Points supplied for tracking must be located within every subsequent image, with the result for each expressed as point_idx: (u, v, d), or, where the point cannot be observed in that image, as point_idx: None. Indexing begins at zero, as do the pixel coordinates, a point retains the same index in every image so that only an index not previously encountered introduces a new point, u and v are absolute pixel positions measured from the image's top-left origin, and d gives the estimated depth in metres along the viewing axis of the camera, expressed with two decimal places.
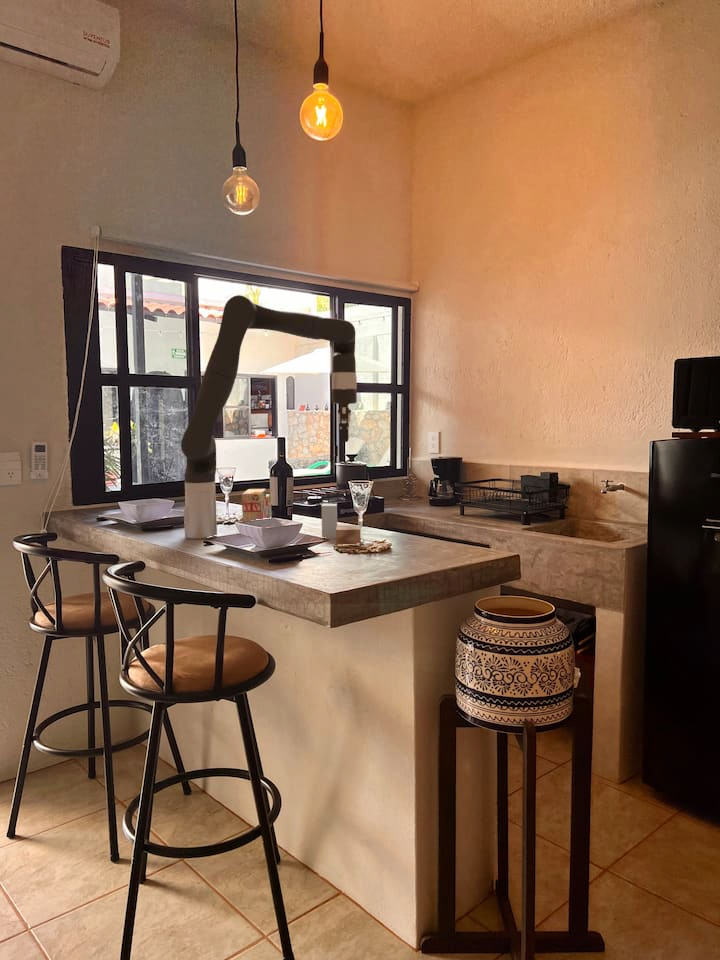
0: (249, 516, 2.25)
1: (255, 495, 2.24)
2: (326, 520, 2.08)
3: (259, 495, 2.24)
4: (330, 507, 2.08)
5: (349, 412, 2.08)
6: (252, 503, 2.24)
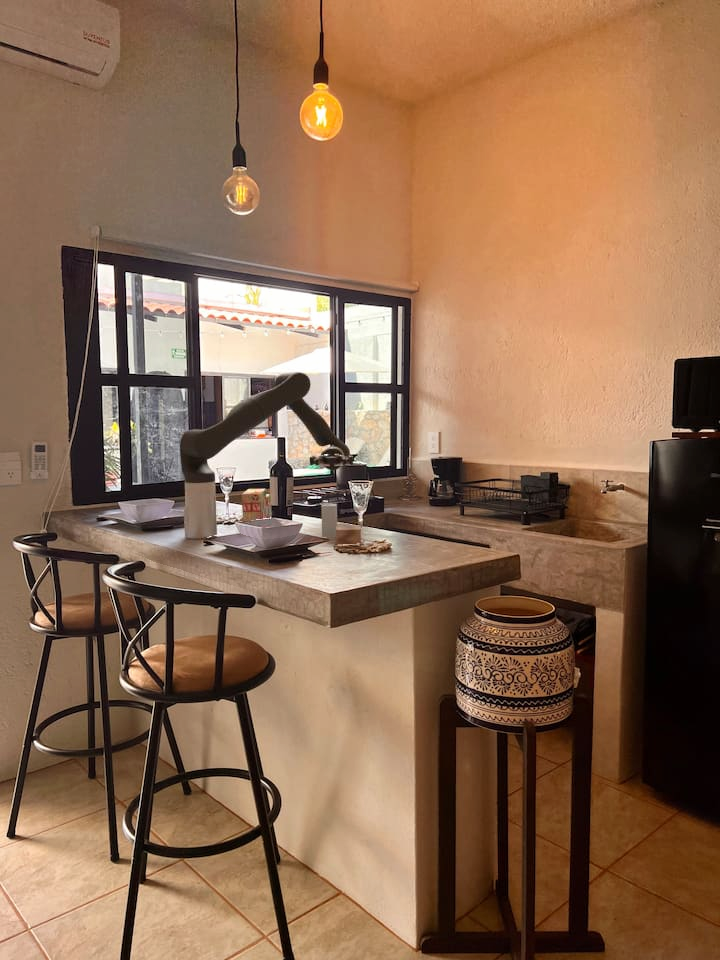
0: (249, 516, 2.25)
1: (255, 495, 2.24)
2: (326, 520, 2.08)
3: (259, 495, 2.24)
4: (330, 507, 2.08)
5: None
6: (252, 502, 2.25)
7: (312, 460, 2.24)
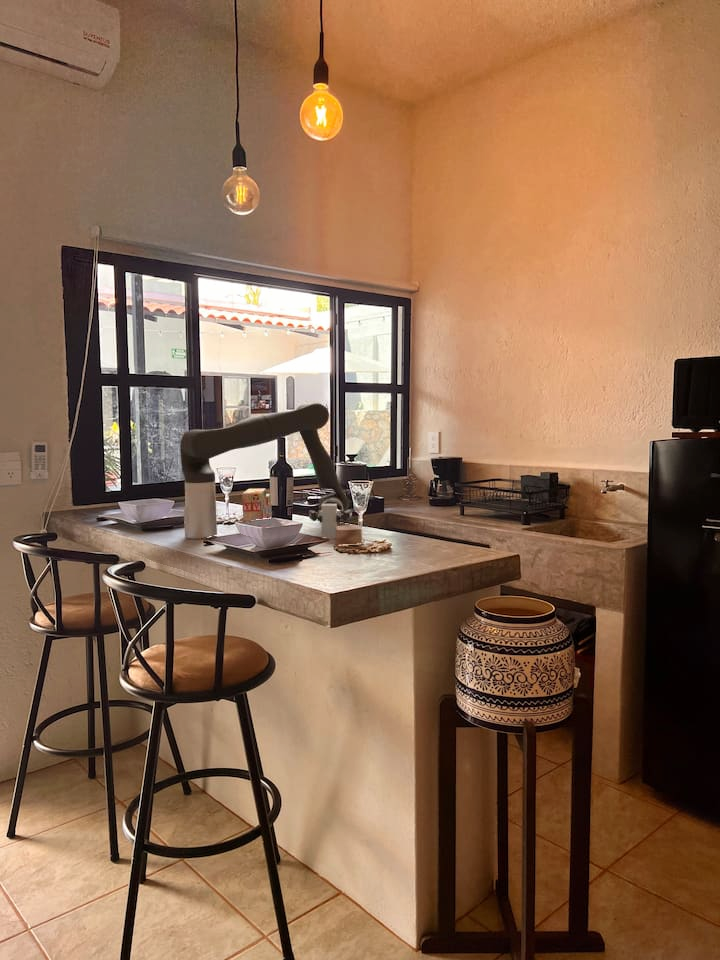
0: (249, 515, 2.26)
1: (255, 495, 2.25)
2: (326, 520, 2.08)
3: (259, 495, 2.25)
4: (330, 507, 2.08)
5: None
6: (252, 502, 2.25)
7: (315, 515, 2.12)
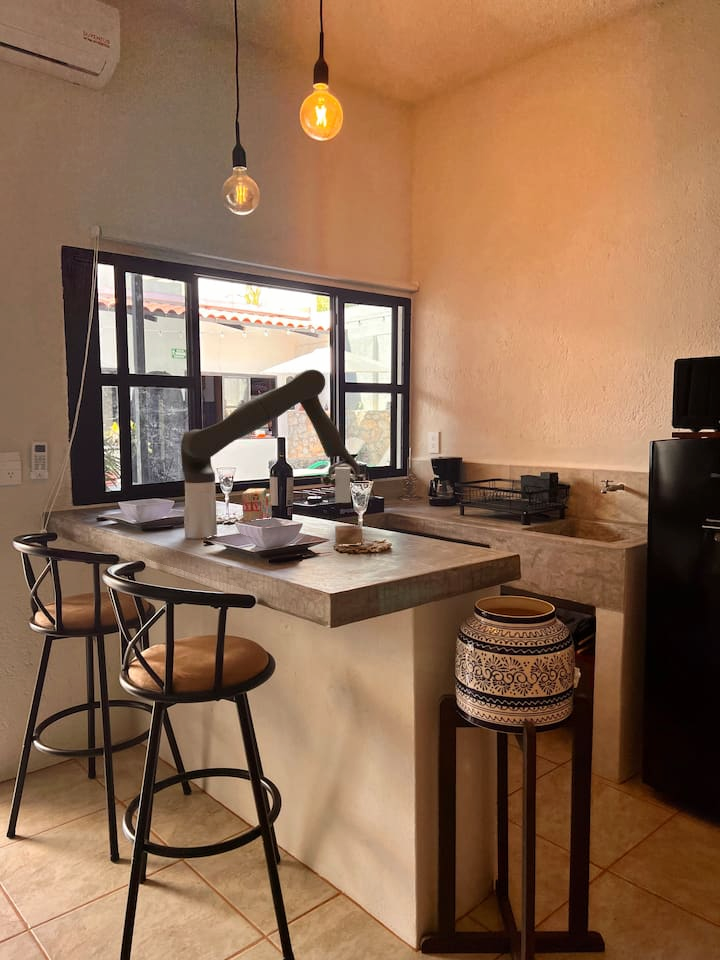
0: (249, 515, 2.26)
1: (255, 494, 2.26)
2: (339, 484, 2.00)
3: (259, 494, 2.26)
4: (344, 470, 1.99)
5: None
6: (252, 502, 2.26)
7: (328, 479, 2.03)
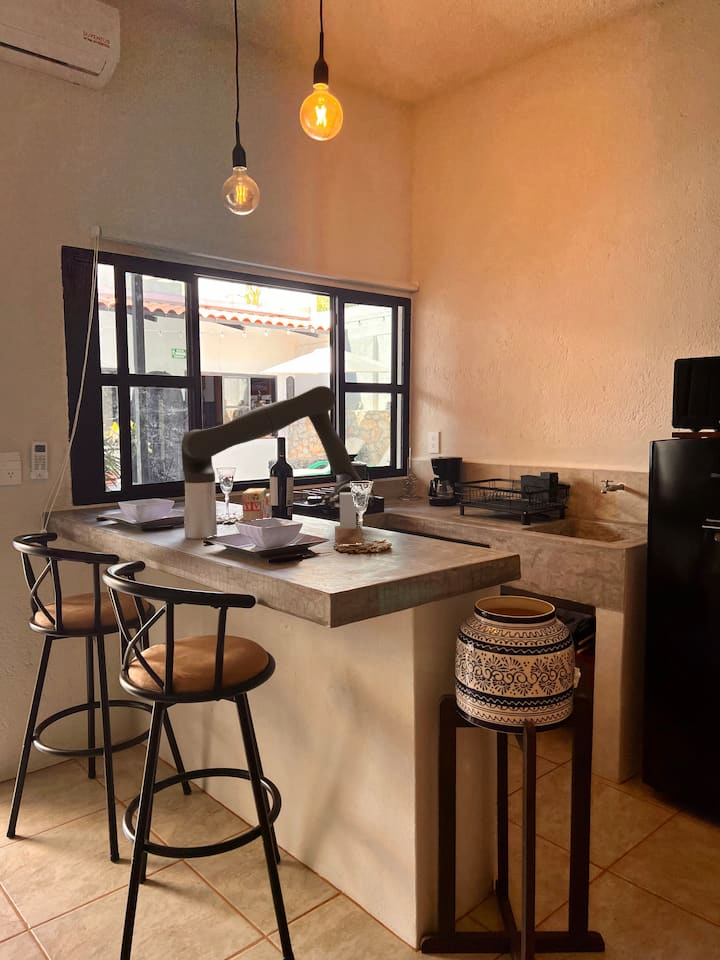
0: (249, 515, 2.27)
1: (255, 494, 2.26)
2: (344, 510, 1.97)
3: (259, 494, 2.26)
4: (349, 496, 1.96)
5: None
6: (252, 502, 2.26)
7: (327, 501, 2.01)
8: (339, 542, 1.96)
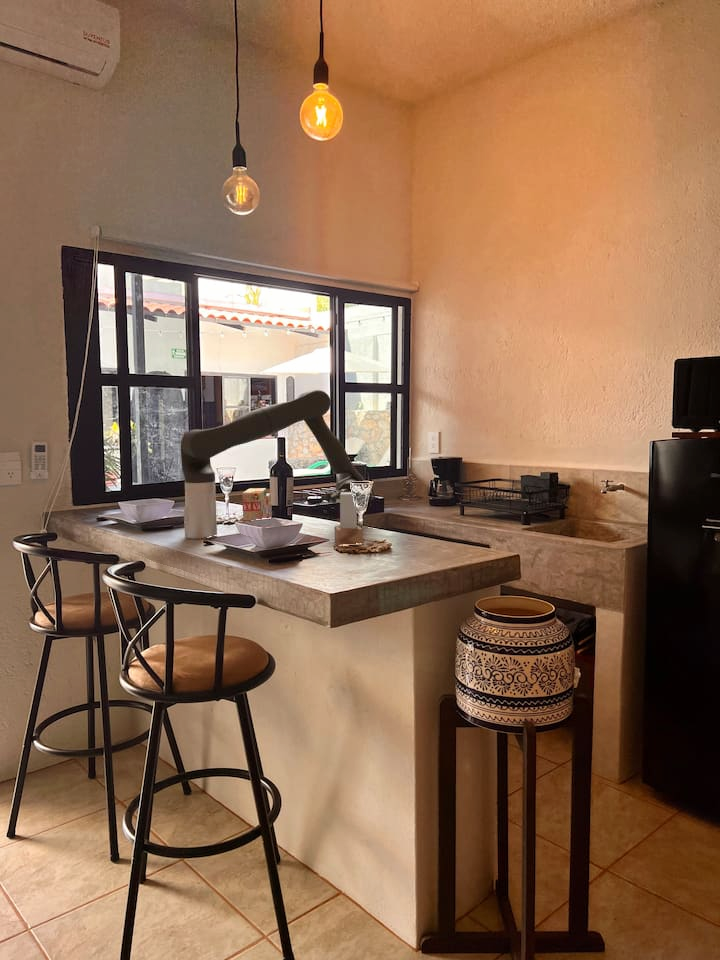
0: (249, 515, 2.27)
1: (255, 494, 2.26)
2: (344, 509, 1.97)
3: (259, 494, 2.26)
4: (349, 495, 1.96)
5: None
6: (252, 502, 2.26)
7: (329, 496, 2.11)
8: (339, 542, 1.96)
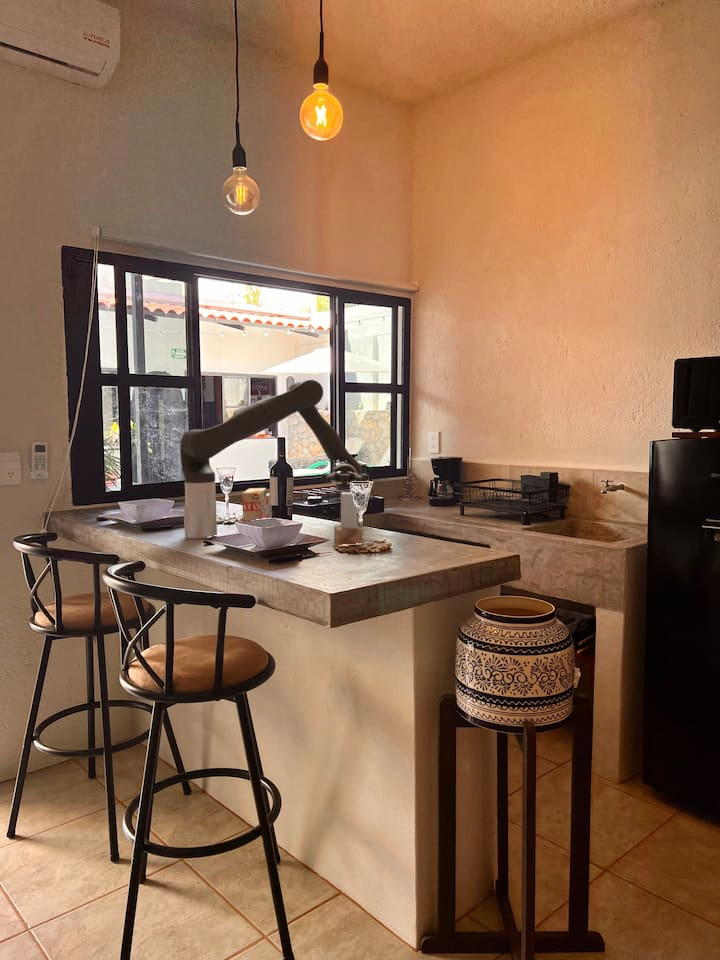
0: (249, 515, 2.27)
1: (255, 494, 2.26)
2: (345, 509, 1.97)
3: (259, 494, 2.26)
4: (350, 495, 1.97)
5: None
6: (252, 502, 2.27)
7: (324, 477, 2.15)
8: (339, 542, 1.96)
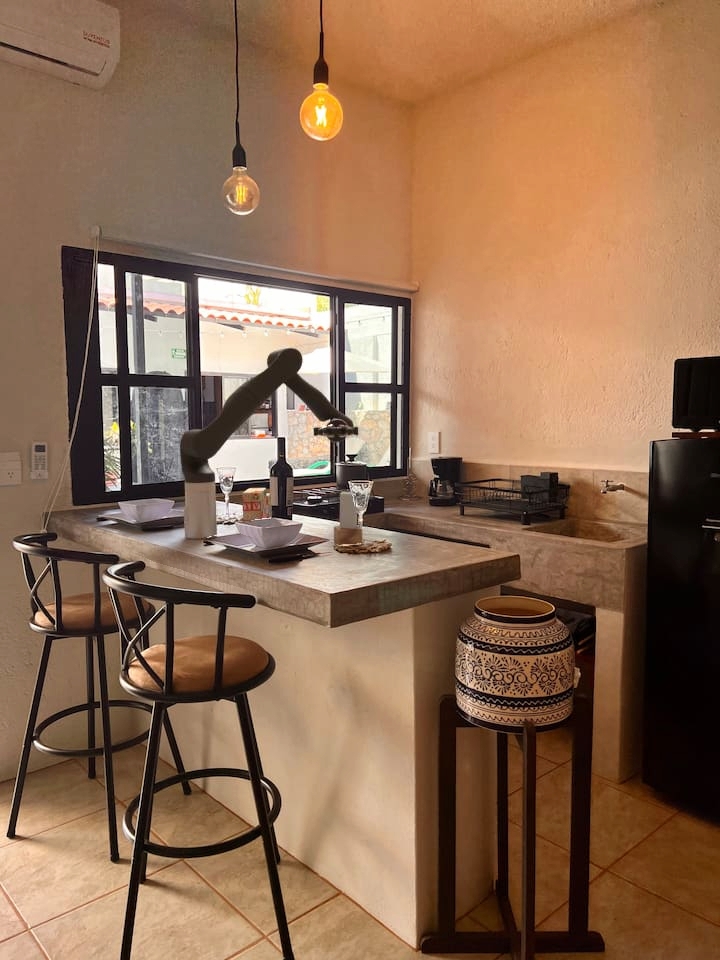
0: (249, 514, 2.27)
1: (255, 494, 2.27)
2: (344, 509, 1.97)
3: (259, 494, 2.27)
4: (349, 496, 1.96)
5: None
6: (252, 501, 2.27)
7: (316, 430, 2.17)
8: (339, 542, 1.96)
